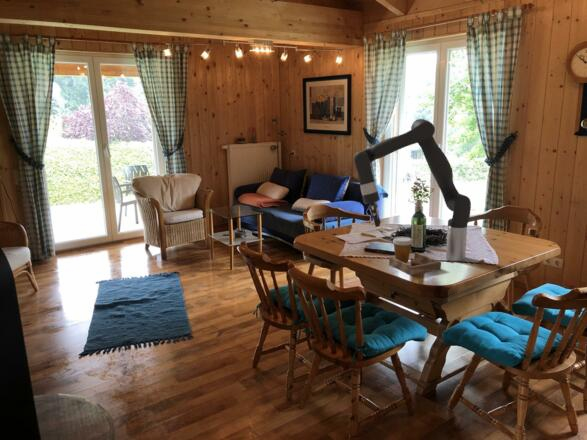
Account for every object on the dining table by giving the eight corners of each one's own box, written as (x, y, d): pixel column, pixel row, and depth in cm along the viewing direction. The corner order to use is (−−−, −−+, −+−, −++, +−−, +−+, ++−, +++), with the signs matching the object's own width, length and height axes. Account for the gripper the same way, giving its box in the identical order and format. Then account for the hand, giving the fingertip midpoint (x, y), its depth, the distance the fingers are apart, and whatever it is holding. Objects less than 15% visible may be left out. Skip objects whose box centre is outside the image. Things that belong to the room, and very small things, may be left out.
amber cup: (414, 260, 236) (415, 237, 233) (407, 266, 228) (408, 242, 225) (396, 257, 241) (397, 235, 238) (389, 262, 233) (389, 239, 230)
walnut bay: (389, 264, 230) (389, 257, 229) (416, 259, 237) (416, 252, 236) (411, 275, 215) (412, 267, 214) (440, 269, 222) (441, 261, 221)
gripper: (376, 191, 214) (385, 225, 215) (378, 189, 228) (386, 221, 229) (361, 195, 216) (369, 229, 217) (363, 193, 230) (371, 225, 231)
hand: (378, 225), depth 223 cm, fingers open, 8 cm apart
